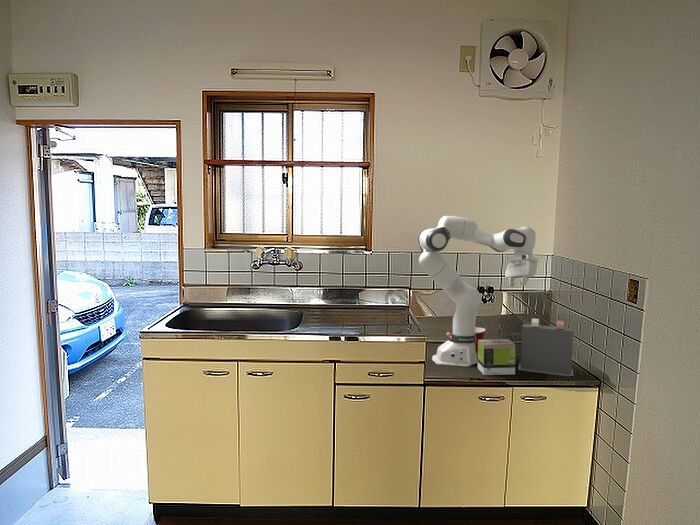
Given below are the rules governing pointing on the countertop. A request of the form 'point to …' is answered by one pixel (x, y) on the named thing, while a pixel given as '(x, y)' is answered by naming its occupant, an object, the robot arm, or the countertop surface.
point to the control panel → (546, 350)
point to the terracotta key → (560, 325)
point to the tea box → (496, 357)
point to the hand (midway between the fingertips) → (517, 286)
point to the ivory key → (535, 322)
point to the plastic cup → (479, 336)
